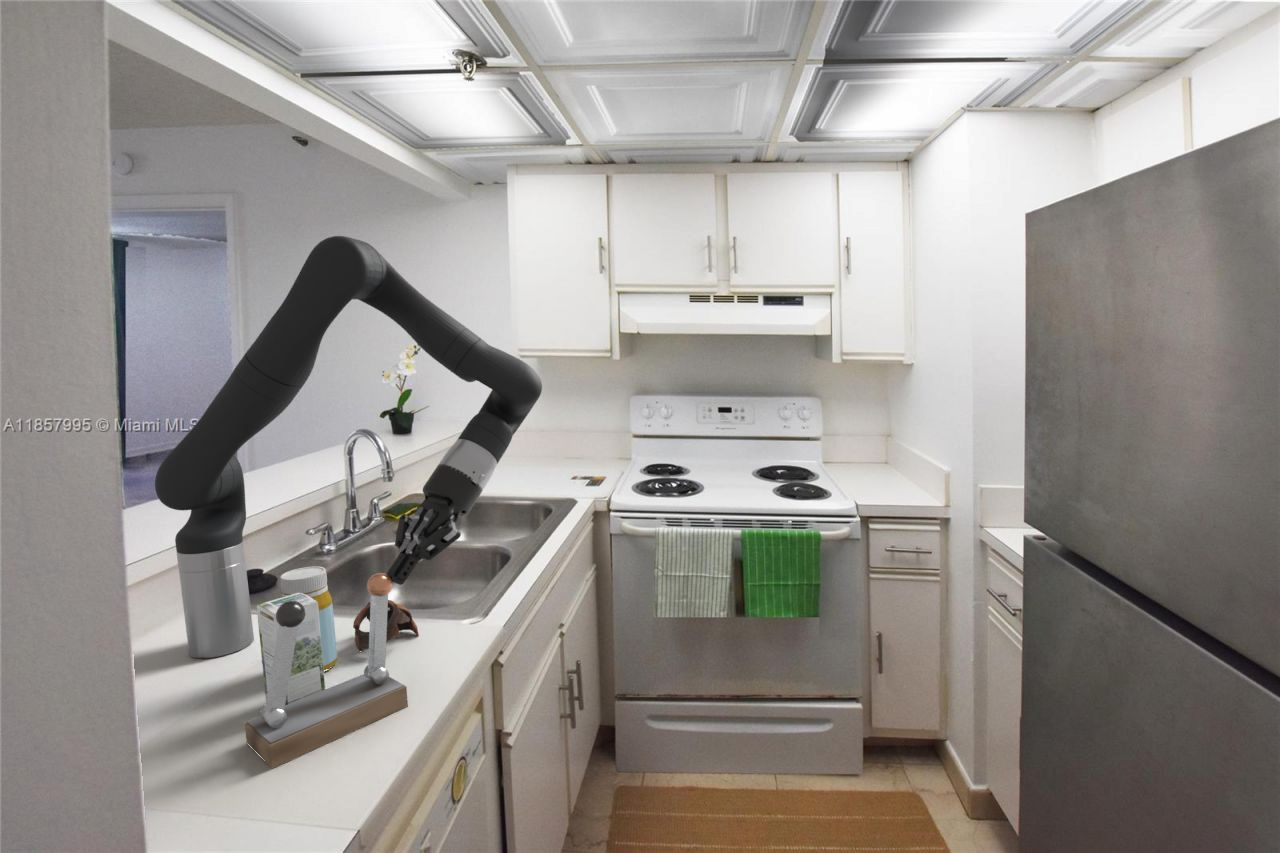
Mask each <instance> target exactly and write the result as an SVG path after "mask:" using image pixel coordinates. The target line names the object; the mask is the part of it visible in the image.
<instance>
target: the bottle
mask: <svg viewBox="0 0 1280 853" xmlns="http://www.w3.org/2000/svg"><path fill="white" fill-rule="evenodd" d="M327 583H328V577H327V569H326V568H325V567H324V566H306V567H300V568H295V569H292V570H288V571H286V572H284V573H283V574H281V575H280V590H281V596H282V597H285V596H289V595H292V594H296V593H303V594H305V595H307V596H309V597H311V598H312V599H314V600H316V602H318V610H319V622H320V634H321V646H322V658H323V669H324V670H326V669H329V668H330V667H332V666H333V665H334V666H335V665H336V663H337V662H338V649H337V637H336V636H337V635H336V627H335V616H334V607H333V598H332V596H331V594H330V592H329V590H328V589H329V587H328V584H327ZM282 597H281V598H282ZM334 666H333V667H334ZM333 667H332V668H333Z"/></svg>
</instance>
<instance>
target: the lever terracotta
mask: <svg viewBox="0 0 1280 853" xmlns="http://www.w3.org/2000/svg"><path fill="white" fill-rule="evenodd" d="M393 583H394V582H392V579H391V578H390V576H389V575H387V573H384V572H377V573H375V574H373V575H371V576H370V578H369V579H368V580H367V584H366V589H367V591H368V593H369V594H370V602H371V606H370V622H369V631H368V632H369V648H368V660H367V663H368V664H367V665H366V666H365V668H364V670H363V674H364V675H365V677H366V678H368V679H370V680H371V681H373V682H375V683H376V684H379V685H381V684H384V683H385V682H386V681H387V680H388V677H390V672H389V671H388V670H387V669H386V657H387V656H386V655H387V642H386V636H387V611H388V610H389V608H388V600H389V593H390V592H391V591H392V588H393V586H394V585H393Z"/></svg>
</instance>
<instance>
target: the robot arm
mask: <svg viewBox="0 0 1280 853" xmlns="http://www.w3.org/2000/svg"><path fill="white" fill-rule="evenodd" d="M352 300H359V301H361V302H362V303H364V304H366V305H368V306H370V307H372V308H374V309H375V310H377V311H379V312H381V313H382V314H384V315H385V316H387V317H389V318H390V319H391V320H392V321H394V322H395V323H396V325H398V326H400V328H402V329H403V330H404V331H405V332H406V333H407V334H408V336H410V337H411V339H412V340H414V342H415V343H417V345H418V346H419V347H420V348H421V349H422V350H423V351H424V352H425V353H426V354H428V356H430V357H431V358H432V359H433V360H435V361H436V362H438V363H439V364H440V365H442V366H443V367H444V368H446V369H447V370H449V371H450V372H451V373H452V374H454V375H455V376H457V377H458V378H459V379H461V380H463V381H465V382H467V383H473V382H479V383H480V384H482V385H484V386H486V387H488V388H489V389H491V391H490V393H489V394H488V396H487V398H486V400H485V401H484V403H483V405H481V408H480V409H479V411H478V413H476V414H475V415H474V416H473V417H472V418H471V419H470V420H469V422H468V423H467V424H466V426H465V428H464V429H463V430H462V432H461V434H460V435H459V436H458V438H457V440H455V442H454V443H453V444H452V445H451V447H450V448H449V449H448V450H447V451H446V453H445V454H444V456H443V457H442V459H441V460H440V462H439V463H438V465H437V466H436V468H435V469H434V471H433V472H432V473H431V475H430V477H429V478H428V479H427V480H426V483H425V484H424V485H423V487H422V493H423V495H424V500H423V501H422V502H421V503H420V504H419V505H418V506H417V507H416V509H415V512H414V513H412V514H410V515H409V516H408V515H407V514H406V513H403V514H401V515H400V516H399V519H398V523H397V524H398V526H397V531H396V537H395V541H394V542H395V543H394V546H395V547H397V549H398V552H399V554H398V555H397V557H396V558H395V560H394V561H393V564H392V565H391V566H390V568H389V569H388V571H387V573H386V574H387V575H389V576H390V578H391V579H392V583H394V584H396V585H397V584H398V585H400V586H402V585H403V584H405V582H406V581H407V579H408V578H409V576H410V575H411V573H412V571H413V570H414V569H415V567H416V566H417V564H418V563H421V562H422V561H423V560H425V559H426V560H427V561H431V560H432V559H434V558H435V557H436V556H437V555H438V554H440V553H441V552H442V551H444V550H445V549H447V548H448V547H450V545H452V544H453V543H454V542H456V541H457V540H459V538H461V535H462V534H461V531H459V530H458V529H457V526H456V524H457V523H458V521H459V519H460V518H459V517H465V516H467V515H469V513H470V512H471V510H472V509H473V507H474V505H475V504H476V502H477V501H478V499H479V497H480V496H481V495H482V493H483V491H484V489H485V487H486V486H487V484H488V483H489V481H490V479H491V477H492V476H493V474H494V472H495V469H496V467H497V465H498V464H499V463H500V460H501V459H502V457H503V456H504V454H505V453H506V451H507V449H508V447H510V446H509V445H510V444H511V442H512V438H513V436H514V435H515V433H517V431H518V429H519V428H520V426H521V425H522V424H523V422H524V421H525V419H526V418H527V417H528V415H529V413H530V412H531V410H532V409H533V407H534V406H535V405H536V403H537V401H538V400H539V398H540V396H541V395H542V390H543V384H542V380H541V378H540V375H539V374H538V373H537V372H536V371H535V369H534V368H533V367H531V365H529V364H528V363H526V362H525V361H524V360H522V359H520V358H518V357H516V356H514V355H512V354H509V353H508V352H506V351H503V350H501V349H500V348H498V347H497V348H496V347H493V346H492V345H490V344H489V343H487V342H486V341H485V340H483V339H482V338H481V337H480V336H479V335H477V334H476V333H475V332H474V331H472V330H470V329H469V328H468V327H466V326H465V325H464V324H462V323H461V322H459V321H458V320H457V319H455V318H454V317H453V316H452V315H450V314H448V313H447V312H446V311H445V310H443V309H442V308H440V307H439V306H437V305H436V304H434V303H433V302H432V301H431V300H429V299H428V298H427V297H425V295H423V294H422V293H420V292H419V291H418V290H417V289H416V287H414V286H413V285H412V284H411V283H409V282H408V281H407V280H406V279H405V278H404V277H403V276H402V275H401V274H400V273H399V271H398V270H396V269H395V267H393V266H392V265H391V263H390V262H388V260H387V259H386V258H385V257H384V256H383V255H382V254H381V253H380V252H379V251H378V250H377V249H376V248H375V247H374V246H373V245H371V244H370V243H368V242H366V241H363V240H360V239H356V238H352V237H349V236H344V235H335V236H330V237H326V238H325V239H323V240H321V241H319V242H318V243H317V244H316V245H315V246H314V247H313V249H312V250H311V252H309V254H308V256H307V257H306V259H305V262H304V263H303V265H302V267H301V269H300V271H299V274H297V276H296V279H295V280H294V283H293V285H291V288H290V290H289V292H288V293H287V295H286V296H285V299H284V300H283V302H282V303H281V305H280V306H279V307H278V309H277V310H276V312H275V313H274V314H273V315H272V316H271V318H270V319H269V321H268V322H267V324H265V326H264V328H263V329H262V330H261V332H260V333H259V335H258V336H257V338H256V339H255V340H254V341H253V343H252V344H251V345H250V347H249V348H248V349H247V351H246V352H245V353H244V355H243V356H242V358H241V359H240V361H239V362H238V363H237V365H236V366H235V367H234V369H233V371H232V372H231V374H230V376H229V377H228V379H226V381H225V382H224V384H223V386H222V388H220V389H219V391H218V393H217V394H216V395H215V397H214V398H213V399H212V401H211V403H210V404H209V405H208V407H207V409H206V410H205V411H204V412H203V414H202V416H201V417H200V419H199V420H198V421H197V422H196V423H195V425H194V426H193V427H192V428H191V429H190V431H188V433H187V434H186V435H185V436H184V437H183V438H182V440H180V442H179V443H178V444H177V445H176V446H175V447H173V450H171V452H170V453H169V454H167V456H166V457H165V459H164V460H163V461H162V462H161V464H160V466H159V467H158V470H157V472H156V475H155V479H154V488H155V493H156V496H157V498H158V500H159V502H160V503H161V504H163V506H165V507H167V508H169V509H172V510H174V511H190V515H189V517H188V520H187V521H186V522H185V524H184V525H183V527H181V529H179V531H178V532H176V535H175V537H174V538H175V540H174V541H175V549H176V550H175V551H176V557H177V566H178V574H179V581H180V589H181V590H180V592H181V598H182V606H183V614H184V623H185V634H186V639H187V647H188V654H189V656H190V657H192V658H195V659H209V658H210V659H211V658H216V657H222V656H226V655H229V654H232V653H236V652H239V651H241V650H243V649H245V648H246V647H248V646H249V645H251V644H252V643H253V642H254V640H255V638H254V637H255V634H254V627H253V626H254V625H253V619H252V616H253V615H252V610H251V609H252V608H251V600H250V599H251V598H250V590H249V583H248V573H247V564H246V558H245V557H246V556H245V546H244V539H243V538H244V537H243V531H244V528H245V525H246V520H247V511H246V510H247V508H246V492H245V490H246V489H245V488H246V487H245V486H246V485H245V478H244V473H243V469H242V466H241V463H240V461H239V459H238V458H237V457H236V455H235V454H236V453H237V452H238V451H239V450H240V449H241V448H242V447H243V445H245V444H246V443H247V442H248V441H249V440H250V439H252V438H253V437H254V436H255V435H257V434H259V432H261V431H262V430H263V429H265V427H267V426H268V425H269V424H271V423H272V422H273V421H274V420H275V419H277V417H279V416H280V415H281V414H282V413H283V412H285V410H286V409H287V408H288V407H289V406H290V404H291V403H292V402H293V401H294V400H295V398H296V396H297V395H298V394H299V392H300V391H301V389H302V388H303V387H304V385H305V384H306V382H307V381H308V379H309V377H310V376H311V375H312V374H311V373H312V372H313V369H314V366H315V363H316V360H317V356H318V354H319V349H320V346H321V343H322V340H323V338H324V335H325V333H326V332H327V331H328V330H329V327H330V326H331V325H332V324H333V322H334V321H335V319H336V318H337V317H338V315H340V313H341V312H342V311H343V310H344V309H345V307H346V306H347V305H348V304H349V303H350V302H351V301H352Z"/></svg>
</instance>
